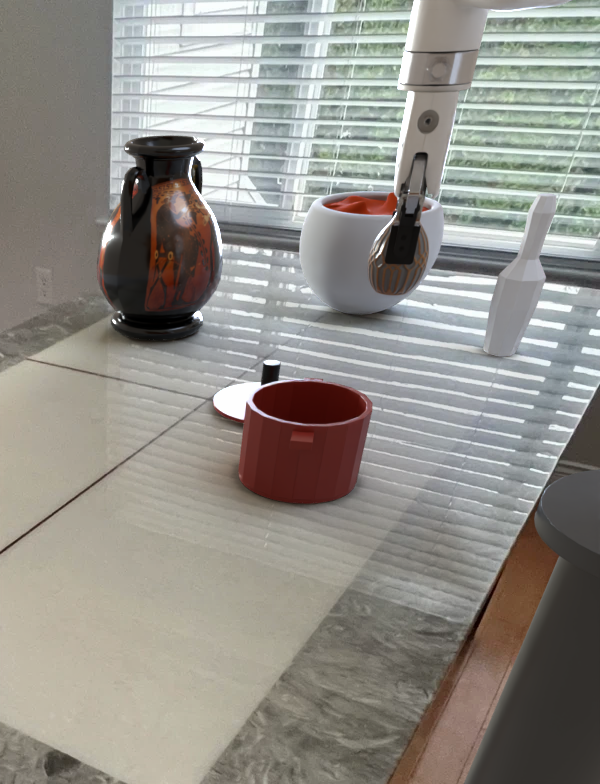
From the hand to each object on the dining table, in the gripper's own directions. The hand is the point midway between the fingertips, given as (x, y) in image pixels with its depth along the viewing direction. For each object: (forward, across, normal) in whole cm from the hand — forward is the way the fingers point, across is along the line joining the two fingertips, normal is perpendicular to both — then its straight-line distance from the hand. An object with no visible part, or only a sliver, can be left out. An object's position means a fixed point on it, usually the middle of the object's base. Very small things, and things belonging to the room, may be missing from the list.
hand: (399, 254), depth 102 cm
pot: (+21, +55, +4) cm, 59 cm away
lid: (+21, +3, +14) cm, 25 cm away
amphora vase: (+21, +35, +37) cm, 56 cm away
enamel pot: (+21, -18, +7) cm, 29 cm away
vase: (+4, 0, 0) cm, 4 cm away
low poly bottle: (+22, +36, -20) cm, 46 cm away
